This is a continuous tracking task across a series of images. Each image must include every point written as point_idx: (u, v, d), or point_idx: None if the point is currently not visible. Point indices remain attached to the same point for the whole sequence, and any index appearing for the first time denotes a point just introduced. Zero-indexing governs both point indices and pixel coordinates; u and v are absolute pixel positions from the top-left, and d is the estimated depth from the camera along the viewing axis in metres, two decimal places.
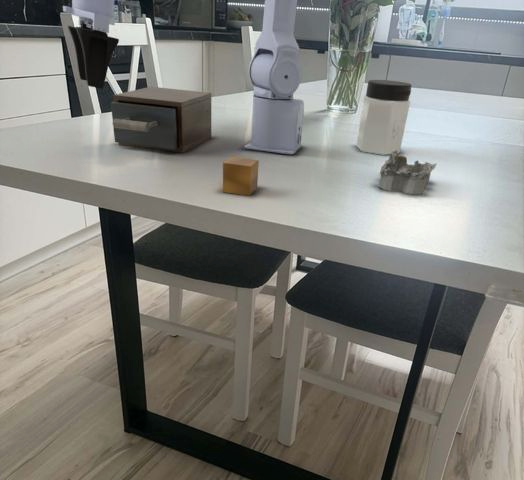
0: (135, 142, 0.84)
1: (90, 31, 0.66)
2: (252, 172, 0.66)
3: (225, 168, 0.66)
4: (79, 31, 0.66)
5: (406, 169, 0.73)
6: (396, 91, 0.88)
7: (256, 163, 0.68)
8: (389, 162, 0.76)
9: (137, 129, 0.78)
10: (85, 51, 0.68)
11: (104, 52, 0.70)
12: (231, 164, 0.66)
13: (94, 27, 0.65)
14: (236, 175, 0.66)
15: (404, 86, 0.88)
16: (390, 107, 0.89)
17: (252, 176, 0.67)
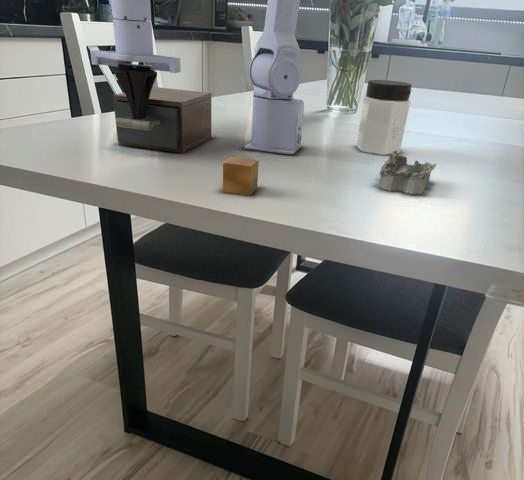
0: (138, 141, 0.85)
1: (147, 72, 0.75)
2: (252, 172, 0.66)
3: (225, 168, 0.66)
4: (141, 75, 0.74)
5: (406, 169, 0.73)
6: (396, 91, 0.88)
7: (256, 163, 0.68)
8: (389, 162, 0.76)
9: (140, 128, 0.79)
10: (142, 90, 0.77)
11: (145, 85, 0.79)
12: (231, 164, 0.66)
13: (175, 70, 0.74)
14: (236, 175, 0.66)
15: (404, 86, 0.88)
16: (390, 107, 0.89)
17: (252, 176, 0.67)
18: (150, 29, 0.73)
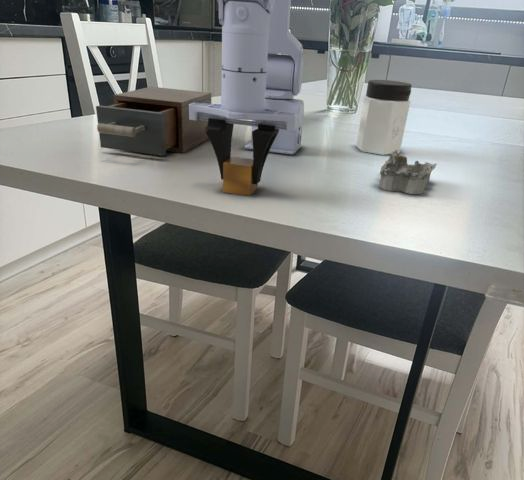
0: (122, 147, 0.80)
1: (273, 132, 0.63)
2: None
3: (225, 168, 0.66)
4: (267, 136, 0.62)
5: (406, 169, 0.73)
6: (396, 91, 0.87)
7: None
8: (389, 162, 0.76)
9: (123, 134, 0.74)
10: (263, 153, 0.64)
11: None
12: (231, 164, 0.66)
13: (293, 129, 0.62)
14: (236, 175, 0.66)
15: (404, 86, 0.88)
16: (390, 107, 0.89)
17: None
18: (265, 81, 0.61)
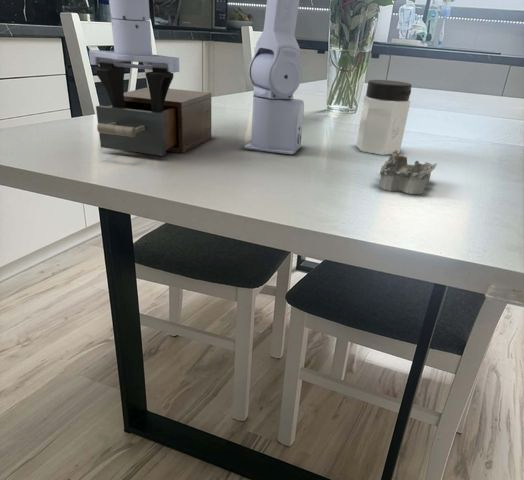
0: (122, 147, 0.80)
1: (164, 74, 0.74)
2: None
3: None
4: (158, 77, 0.74)
5: (406, 169, 0.73)
6: (396, 91, 0.87)
7: None
8: (389, 162, 0.76)
9: (123, 134, 0.74)
10: (158, 92, 0.76)
11: (161, 87, 0.78)
12: None
13: (174, 70, 0.74)
14: None
15: (404, 86, 0.88)
16: (390, 107, 0.89)
17: None
18: (149, 29, 0.73)
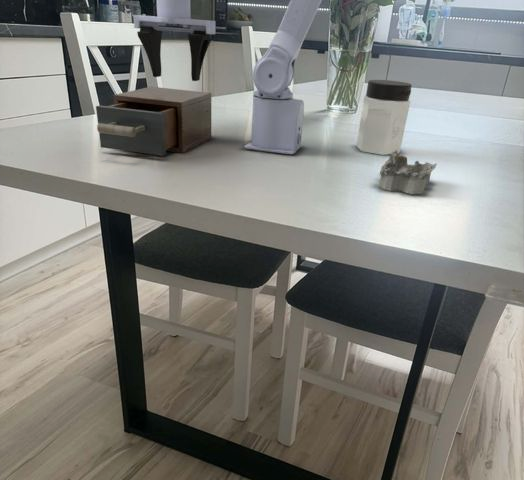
0: (122, 147, 0.80)
1: (204, 36, 0.82)
2: None
3: None
4: (199, 38, 0.82)
5: (406, 169, 0.73)
6: (396, 91, 0.87)
7: None
8: (389, 162, 0.76)
9: (123, 134, 0.74)
10: (198, 53, 0.84)
11: (200, 49, 0.86)
12: None
13: (211, 32, 0.82)
14: None
15: (404, 86, 0.88)
16: (390, 107, 0.89)
17: None
18: None
